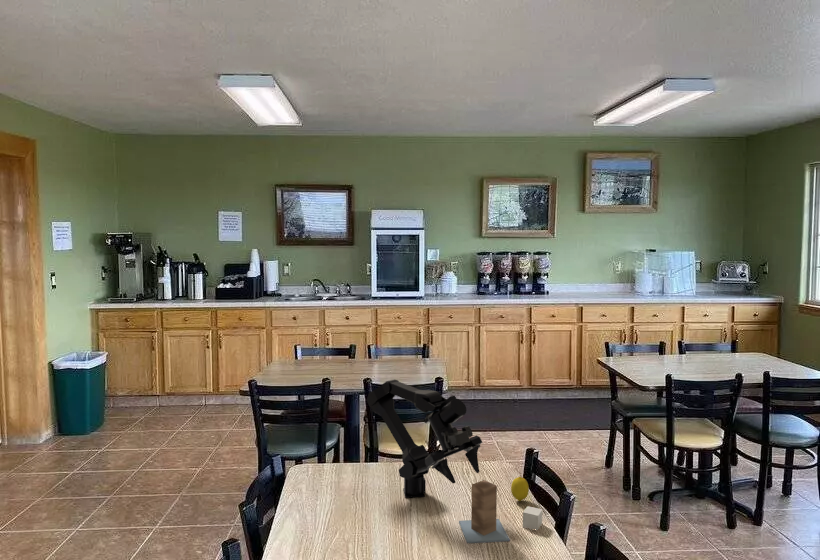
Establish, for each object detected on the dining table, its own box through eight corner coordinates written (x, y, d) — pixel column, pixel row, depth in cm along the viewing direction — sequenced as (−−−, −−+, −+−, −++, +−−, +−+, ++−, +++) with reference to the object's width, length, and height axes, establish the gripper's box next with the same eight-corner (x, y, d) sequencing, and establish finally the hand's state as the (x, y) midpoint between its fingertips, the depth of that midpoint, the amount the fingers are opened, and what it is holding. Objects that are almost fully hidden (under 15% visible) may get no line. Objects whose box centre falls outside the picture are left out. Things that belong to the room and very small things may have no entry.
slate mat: (467, 543, 157) (467, 541, 157) (458, 522, 169) (458, 520, 169) (509, 541, 159) (509, 539, 159) (498, 520, 171) (498, 518, 171)
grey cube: (522, 527, 167) (522, 512, 166) (527, 520, 171) (527, 506, 170) (537, 531, 165) (538, 515, 164) (542, 524, 168) (542, 509, 168)
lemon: (528, 505, 180) (528, 480, 180) (510, 504, 181) (510, 479, 181) (528, 498, 186) (528, 474, 185) (511, 496, 187) (511, 472, 186)
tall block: (471, 528, 165) (471, 484, 164) (483, 523, 168) (484, 479, 167) (483, 535, 161) (484, 490, 160) (496, 530, 164) (496, 485, 163)
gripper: (429, 429, 167) (453, 480, 161) (478, 411, 177) (503, 459, 171) (414, 442, 175) (437, 491, 169) (462, 424, 185) (485, 470, 179)
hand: (466, 477), depth 172 cm, fingers open, 9 cm apart
